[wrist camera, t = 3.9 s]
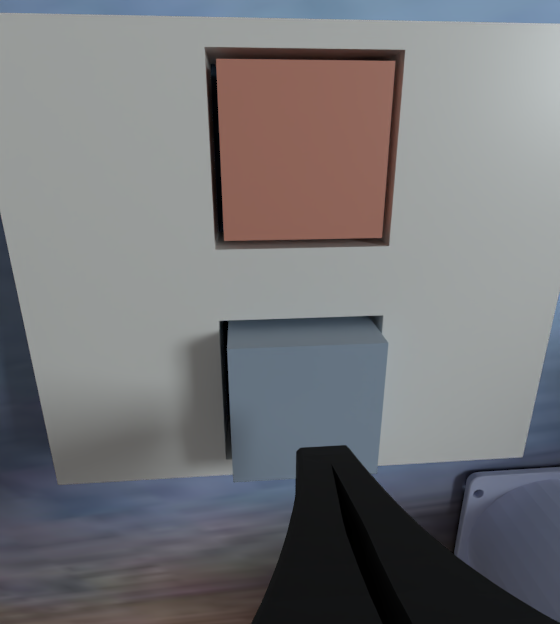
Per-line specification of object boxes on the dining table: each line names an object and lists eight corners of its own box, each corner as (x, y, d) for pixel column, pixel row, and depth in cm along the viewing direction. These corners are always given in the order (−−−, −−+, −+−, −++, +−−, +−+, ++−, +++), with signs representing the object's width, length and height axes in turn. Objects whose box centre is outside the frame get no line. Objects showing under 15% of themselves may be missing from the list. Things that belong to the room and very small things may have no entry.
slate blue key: (356, 425, 19) (377, 473, 16) (233, 432, 18) (233, 482, 16) (364, 310, 17) (388, 343, 14) (228, 315, 17) (227, 348, 14)
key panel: (484, 415, 21) (522, 457, 18) (83, 436, 20) (58, 484, 17) (551, 45, 16) (618, 25, 13) (11, 36, 15) (-43, 12, 12)
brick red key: (359, 222, 17) (381, 237, 15) (226, 224, 17) (224, 240, 14) (368, 74, 16) (395, 60, 13) (219, 73, 15) (216, 58, 12)
